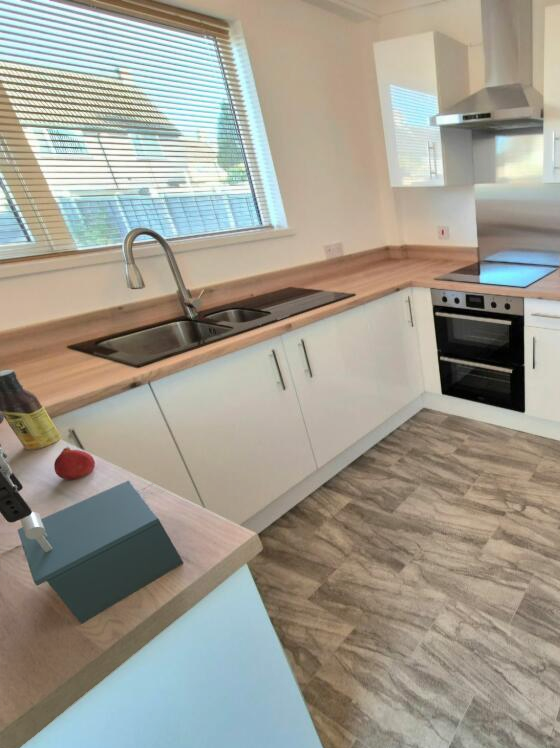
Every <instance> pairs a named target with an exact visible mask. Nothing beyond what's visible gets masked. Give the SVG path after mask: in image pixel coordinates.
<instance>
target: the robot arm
mask: <svg viewBox="0 0 560 748" xmlns="http://www.w3.org/2000/svg"><path fill="white" fill-rule="evenodd" d="M4 420H5V418H4V416H3V414H2V413H1V411H0V425H1V424H2V423H3V422H4ZM7 458H8V455H7V453H6V452H5V450H4V448H2V444H1V443H0V514H1V515H2V517H3V519H5V521H6V522H8V523H11V524H13V523H16V522H17V521H21V520H20V519H23V518H25V517H27V516H29V515H31V513H32V512H33V511H32V509H31V507H30V506H29V504H28V502H26V501H25V499H24V498H23V496H22V495H21V494H20V493H19V492H20V491H22V490H23V488H24V487H23V484H22V483H21V481H20V480H19V479H18V478H17V476H16V475H15V473H14V472H13V470H12V468H11V466H10V465H9V460H8V459H7Z"/></svg>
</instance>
